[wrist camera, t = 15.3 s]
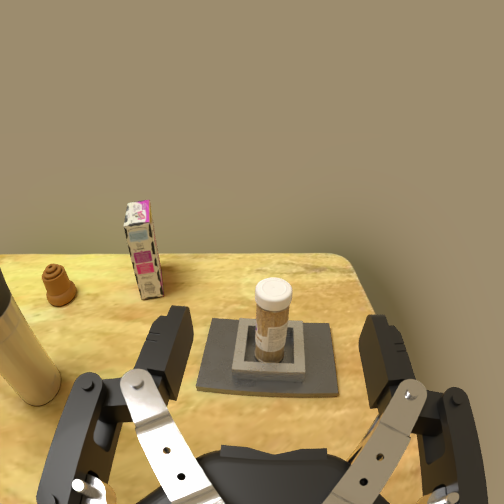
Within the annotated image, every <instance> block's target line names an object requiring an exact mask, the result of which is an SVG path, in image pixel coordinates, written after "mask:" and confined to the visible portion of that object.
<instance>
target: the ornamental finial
mask: <svg viewBox="0 0 504 504" xmlns="http://www.w3.org/2000/svg"><path fill="white" fill-rule="evenodd" d="M42 280H43V282H44V285H45V287H46V290H47V294H46V296H47V300H48V301H49V303H51V304H52V305H54V306H62V305H65V304H67V303H69V302H70V301H71V300H72V299H73V298H74V296H75V293H76V287H75V284H74V283H73V282H72V281H70V280H69V278H68V276H67V274H66V271H65V269H64V267H63V266H61V265H58V264H50V265H48V266H47V267H46V269H45V270H44V272H43V274H42Z"/></svg>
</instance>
